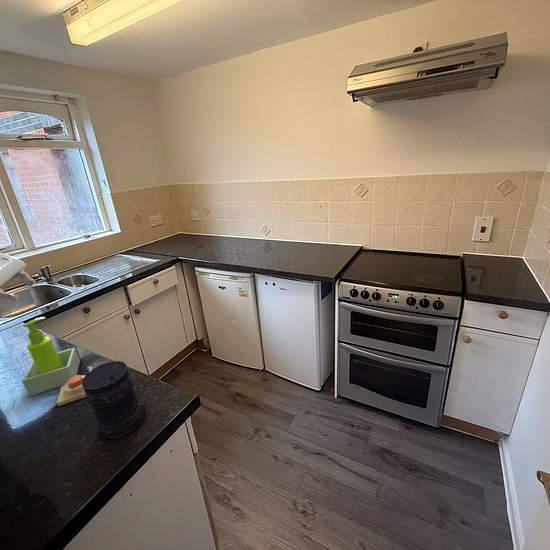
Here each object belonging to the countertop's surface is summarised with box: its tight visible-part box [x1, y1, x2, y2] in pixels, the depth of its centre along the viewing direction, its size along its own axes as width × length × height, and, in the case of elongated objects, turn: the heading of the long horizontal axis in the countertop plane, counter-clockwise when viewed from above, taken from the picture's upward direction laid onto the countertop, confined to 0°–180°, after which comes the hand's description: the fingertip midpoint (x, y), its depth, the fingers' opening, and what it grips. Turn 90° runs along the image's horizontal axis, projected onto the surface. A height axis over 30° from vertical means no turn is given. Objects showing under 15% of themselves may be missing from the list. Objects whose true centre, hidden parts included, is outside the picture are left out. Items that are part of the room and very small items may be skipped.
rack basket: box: [21, 347, 81, 397], centre depth 95 cm, size 12×12×6 cm
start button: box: [68, 374, 83, 388], centre depth 87 cm, size 4×4×2 cm
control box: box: [55, 374, 87, 407], centre depth 88 cm, size 10×8×3 cm
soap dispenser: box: [22, 316, 63, 374], centre depth 92 cm, size 6×7×20 cm
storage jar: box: [82, 360, 144, 439], centre depth 73 cm, size 10×10×15 cm
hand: (25, 290), depth 86 cm, fingers open, 8 cm apart
